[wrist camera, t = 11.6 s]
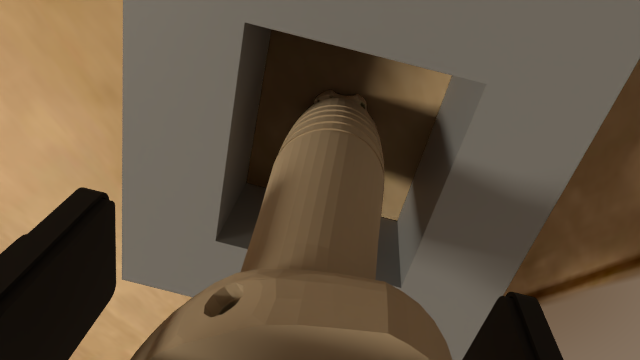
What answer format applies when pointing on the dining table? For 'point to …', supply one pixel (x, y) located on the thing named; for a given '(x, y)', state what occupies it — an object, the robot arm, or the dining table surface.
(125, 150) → the well block
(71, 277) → the robot arm
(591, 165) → the dining table surface
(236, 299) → the handle
